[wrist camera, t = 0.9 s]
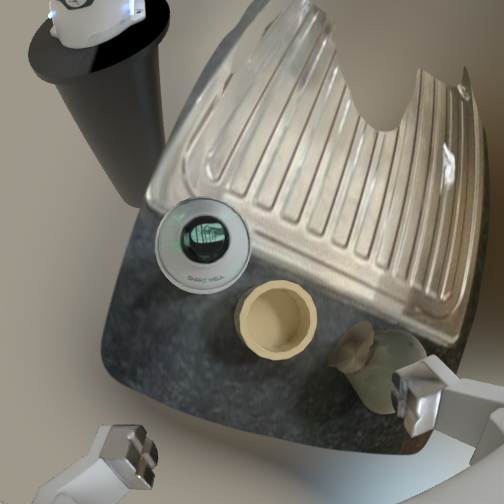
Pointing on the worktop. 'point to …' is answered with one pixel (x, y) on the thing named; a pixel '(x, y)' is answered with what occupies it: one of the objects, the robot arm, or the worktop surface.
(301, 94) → the worktop surface
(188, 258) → the spray can
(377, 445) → the worktop surface
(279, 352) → the beige base ring
